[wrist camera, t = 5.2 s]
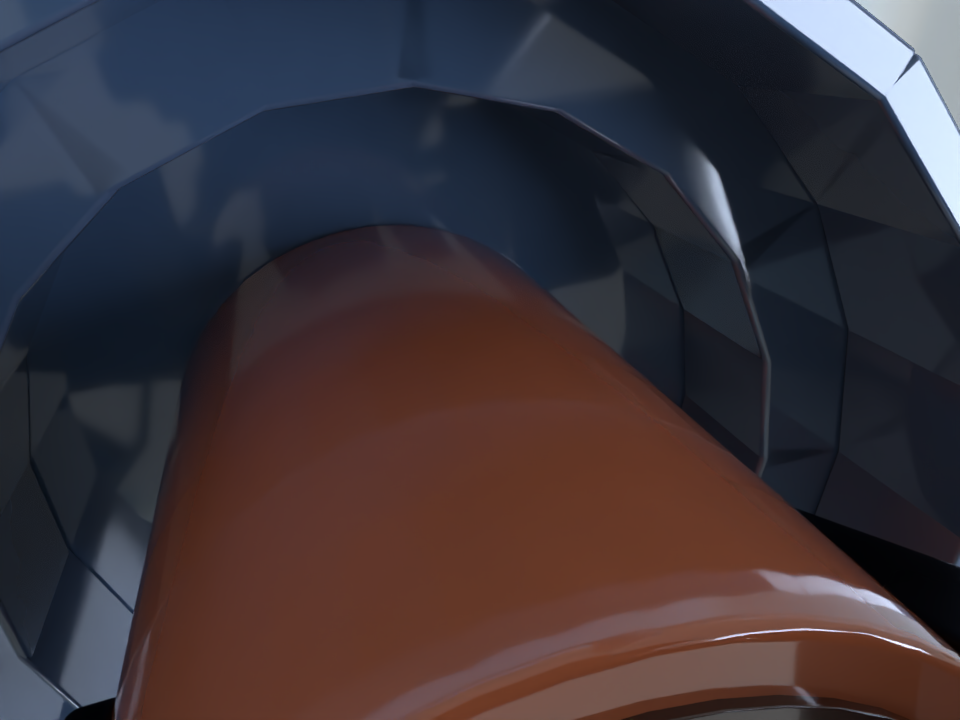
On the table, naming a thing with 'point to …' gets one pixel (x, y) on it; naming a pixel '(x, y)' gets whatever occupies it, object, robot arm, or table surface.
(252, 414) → the cup
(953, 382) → the bowl
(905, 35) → the table surface
